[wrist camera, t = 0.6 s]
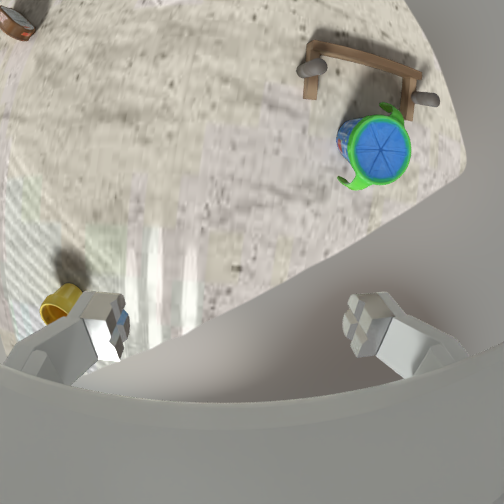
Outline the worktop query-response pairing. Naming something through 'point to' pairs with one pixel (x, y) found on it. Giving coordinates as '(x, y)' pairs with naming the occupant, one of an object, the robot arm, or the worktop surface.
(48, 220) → the worktop surface
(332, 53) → the cradle
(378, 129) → the snack cup
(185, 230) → the worktop surface
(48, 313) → the plant pot
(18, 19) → the tin
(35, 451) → the robot arm
